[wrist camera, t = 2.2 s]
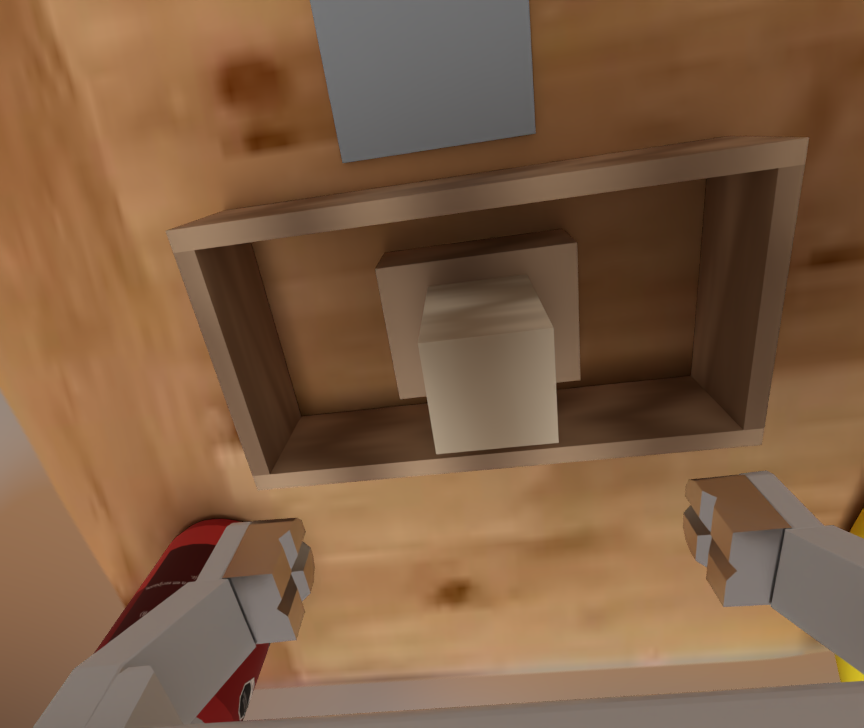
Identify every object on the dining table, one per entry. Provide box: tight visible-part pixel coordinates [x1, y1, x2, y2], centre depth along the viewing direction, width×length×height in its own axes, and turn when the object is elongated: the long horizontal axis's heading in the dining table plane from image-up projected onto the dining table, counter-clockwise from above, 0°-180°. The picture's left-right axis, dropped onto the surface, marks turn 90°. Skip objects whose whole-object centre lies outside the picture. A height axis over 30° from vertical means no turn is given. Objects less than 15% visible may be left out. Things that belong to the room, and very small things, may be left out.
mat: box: [310, 0, 536, 163], centre depth 19 cm, size 8×8×1 cm
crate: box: [166, 136, 809, 490], centre depth 22 cm, size 22×12×5 cm, turn 98°
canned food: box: [95, 519, 270, 724], centre depth 27 cm, size 8×8×11 cm
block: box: [418, 274, 559, 454], centre depth 18 cm, size 4×4×6 cm
